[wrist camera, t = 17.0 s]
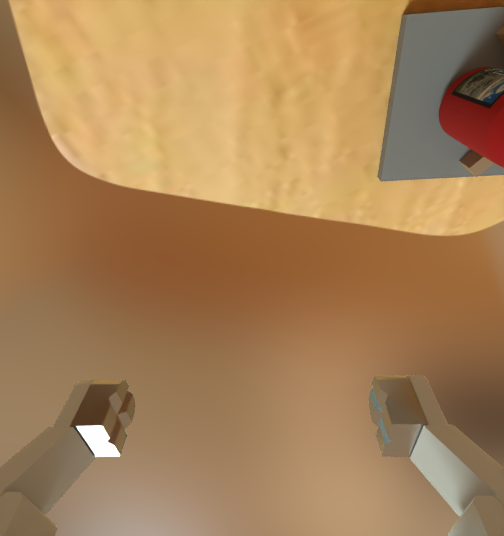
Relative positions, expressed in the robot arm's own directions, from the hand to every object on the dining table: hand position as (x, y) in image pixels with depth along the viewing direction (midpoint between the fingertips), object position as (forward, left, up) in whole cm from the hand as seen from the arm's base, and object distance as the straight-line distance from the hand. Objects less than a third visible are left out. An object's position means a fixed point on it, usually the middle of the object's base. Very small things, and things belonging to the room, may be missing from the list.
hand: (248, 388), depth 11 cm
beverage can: (+13, +18, -33) cm, 39 cm away
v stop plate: (+13, +18, -34) cm, 41 cm away
